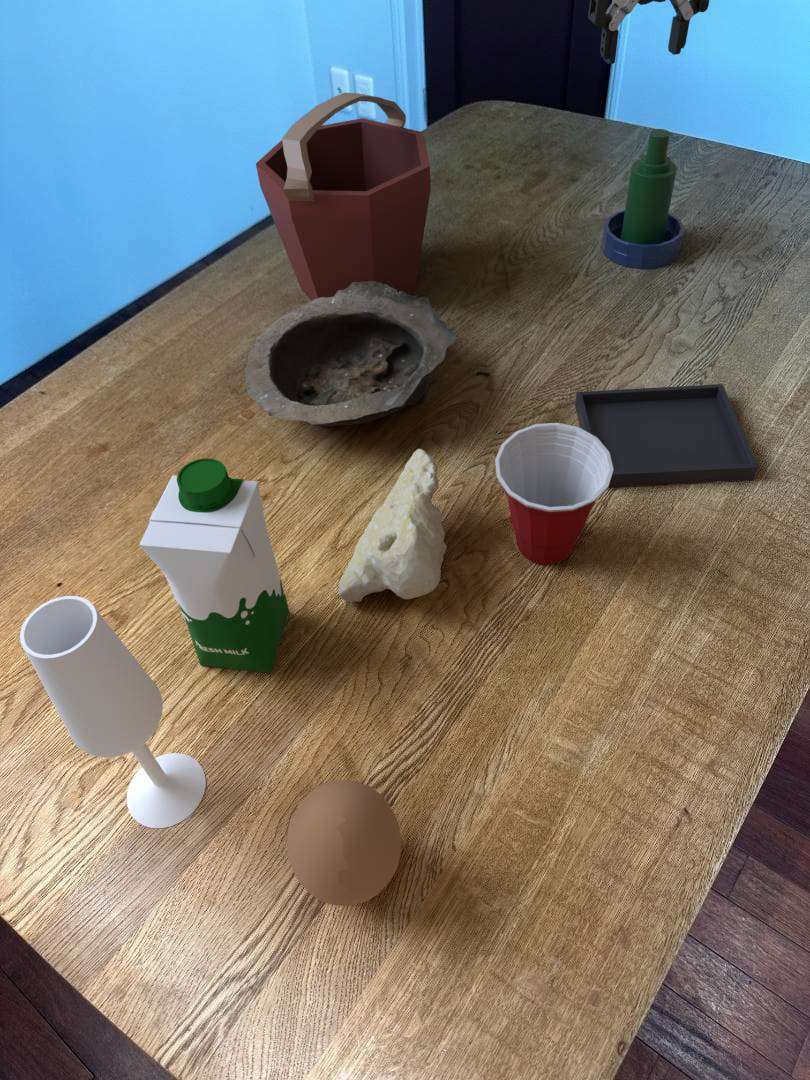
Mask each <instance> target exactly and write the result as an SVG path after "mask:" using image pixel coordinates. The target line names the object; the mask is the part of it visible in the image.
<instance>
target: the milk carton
mask: <svg viewBox="0 0 810 1080" xmlns="http://www.w3.org/2000/svg"><path fill="white" fill-rule="evenodd" d="M262 501H263V500H262V496H261V490H260V484H259V481H256V480H244V478H232V477H230V476H229V474H228V470H227V467H226V465H225V464H224V463H223V462H222V461H220V460H218V459H215V458H209V457H203V458H198V459H195V460H192V461H190V462H188V463H186V464H185V465H184V466H183V467H182V468H181V469H180V470H179V471H178V473H177V475H174V474H173V475H171V478H170V479H169V481H168V483H167V485H166V487H165V489H164V491H163V493H162V495H161V497H160V499H159V501H158V502H157V504H156V506H155V509H154V510H153V511H152V513H151V515H150V517H149V520H148V521H149V523H148V525H147V528H146V530H145V532H144V534H143V536H142V538H141V540H140V542H139V547H140V548H141V549H142V551H144V552H145V553H146V555H147V556H148V557H149V558H150V559H151V560H152V561H153V562H154V564H155V565H156V566H157V568H159V569H160V571H161V572H162V573H163V575H164V577H165V580H166V581H167V584H168V585H169V588H170V590H171V592H172V594H173V596H174V599H175V601H176V603H177V605H178V608H179V610H180V613H181V615H182V617H183V619H184V621H185V623H186V626H187V629H188V632H189V635H190V638H191V642H192V645H193V647H194V650H195V654H196V656H197V659H198V663H199V665H200V666H201V667H210V668H211V667H212V668H221V669H228V670H229V669H230V670H239V671H248V672H249V671H251V672H257V673H258V672H259V673H267V674H271V673H272V671H273V667H274V664H275V660H276V658H277V654H278V651H279V647H280V644H281V642H282V638H283V634H284V631H285V628H286V626H287V622H288V619H289V615H290V609H289V604H288V601H287V597H286V593H285V590H284V586H283V581H282V578H281V575H280V571H279V568H278V564H277V560H276V557H275V553H274V550H273V546H272V543H271V539H270V535H269V531H268V528H267V523H266V517H265V512H264V507H263V502H262Z"/></svg>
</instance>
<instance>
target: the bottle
mask: <svg viewBox="0 0 810 1080" xmlns="http://www.w3.org/2000/svg"><path fill="white" fill-rule="evenodd" d="M670 136H671V132H670V131H669V130H667V129H664V128H657V129H652V130H651V131H650V132H649V136H648V143H647V149H646V154H644V155H642V156H641V158H640V159H638V160H635V161H634V162H633V163H632V165H631V169H630V176H629V180H628V181H629V182H628V187H627V194H626V202H625V208H624V210H625V214H624V221H623V227H622V234H621V240H624V241H627V242H629V243H636V244H643V245H648V244H660V243H663V239H664V234H665V229H666V223H667V218H668V213H670V207H671V202H672V197H673V191H674V187H675V183H676V176H677V171H678V166H677V164H675V162H673V161H672V160H671V158H670V157H669V156H668V149H669V143H670V140H671V139H670Z"/></svg>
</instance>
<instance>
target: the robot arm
mask: <svg viewBox="0 0 810 1080" xmlns="http://www.w3.org/2000/svg"><path fill="white" fill-rule="evenodd" d="M666 1H667V0H612V1H611V4H610V5H609V7H608V3H609V0H589V7H588V12H587V19H588V20H589V21H590V22H591V23H592V25H594V26H596V27H597V28H601V37H600V47H599V53H600V57H602V58H603V61H604V62H605V63H606V64H607V65H613V64H616V58H617V57H616V56H617V51H618V50H617V49H618V42H619V34H620V33H619V32H620V31H619V30H618V28H619V26H620V25H621V23H622V22H623V21H624V19H625V18H626V16H627V15H630V14H631V13H632V11H633V10H634V9H635V7H636V6H637V4H638V5H640V6H642V5H643V6H644V5H649V4H650V3H652V2H655V3H656V2H657V3H665V2H666ZM669 2H670V4H671V5H672V8H673V10H674V11H675V12H674V13H676V14H675V16H672V21H671V27H670V31H669V32H670V33H669V38H668V44H667V45H668V46H667V50H668V52H669V53H670V54H672V55H673V56H676V55H680V54H681V52H682V49H685V46H686V44H687V38H688V34H689V33H688V32H689V27H690V23H691V19H692V18H693V17H694V16H695V15H697V14H699V13H705V12H706V11H707V10H708V9H709V6H710V0H669Z"/></svg>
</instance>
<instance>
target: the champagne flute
mask: <svg viewBox="0 0 810 1080" xmlns="http://www.w3.org/2000/svg"><path fill="white" fill-rule="evenodd" d="M19 641H20V645H21V647H22V648H23V650H24V652H25V655H26V656H27V658H28V660H29V661H30V663H31V665H32V667H33V669H34V671H35V673H36V675H37V676H38V678H39V681H40V682H41V684H42V686H43V687H44V689H45V691H46V693H47V695H48V697H49V699H50V701H51V702H52V704H53V707H54V708H55V710H56V712H57V714H58V716H59V718H60V719H61V721H62V723H63V725H64V727H65V729H66V731H67V732H68V734H69V736H70V738H71V740H72V741H73V743H74V745H75V746H76V747H77V748H78V749H80V750H81V751H83V752H84V753H86V754H88V755H90V756H94V757H96V758H118V757H122V756H125V755H128V754H130V753H132V754H133V756H134V757H135V759H136V760H137V762H138V763H139V765H140V766H141V767H140V768H139V769H138V770H137V772H136V773H135V774H134V776H132V778H131V781H130V783H129V785H128V788H127V793H126V805H127V809H128V812H129V814H130V815H131V817H132V818H133V819H134V821H135V822H137V823H138V824H139V825H141V826H144V827H147V828H149V829H150V828H151V829H167V828H169V827H173V826H176V825H177V824H180V823H181V822H183V821H185V820H186V819H187V818H189V817H190V816H191V815H192V814H193V813H194V812H195V811H196V809H197V808H198V807H199V806H200V804H201V802H202V800H203V798H204V795H205V791H206V786H207V785H206V784H207V780H206V775H205V771H204V769H203V767H202V766H201V764H200V762H198V761H197V760H196V759H195V758H193V757H192V756H191V755H187V754H184V753H181V752H180V753H179V752H171V753H165V754H161V755H158V756H154V753H152V750H151V749H150V748H149V746H148V744H147V742H148V741H149V740H150V739H151V737H153V735H154V734H155V732H156V731H157V728H158V727H159V724H160V722H161V719H162V716H163V710H164V705H163V703H164V702H163V696H162V692H161V690H160V689H159V687H158V686H157V684H156V683H155V682H154V680H153V679H152V677H151V676H150V675H149V674H148V672H147V671H146V670H145V669H144V667H142V665H141V664H140V663H139V661H138V660H137V659H136V657H135V656H134V655H133V653H132V652H131V651H130V650H129V648H128V647H127V646H126V644H125V643H124V642H123V641H122V640H121V639H120V637H119V636H118V634H117V633H116V632H115V631H114V629H113V628H112V627H111V626H110V625H109V623H108V622H107V620H106V619H105V618H104V617H103V616H102V614H101V613H100V611H98V610H97V608H96V607H95V606H94V604H93V603H92V602H90V600H89V599H86V598H84V597H81V596H77V595H65V596H59V597H55V598H53V599H50V600H48V601H46V602H44V603H42V604H40V605H39V606H38V607H36V608H35V609H34V610H33V611H32V612H31V613H30V614H29V615H28V616H27V617H26V619H25V620H24V622H23V623H22V626H21V628H20V632H19Z"/></svg>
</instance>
